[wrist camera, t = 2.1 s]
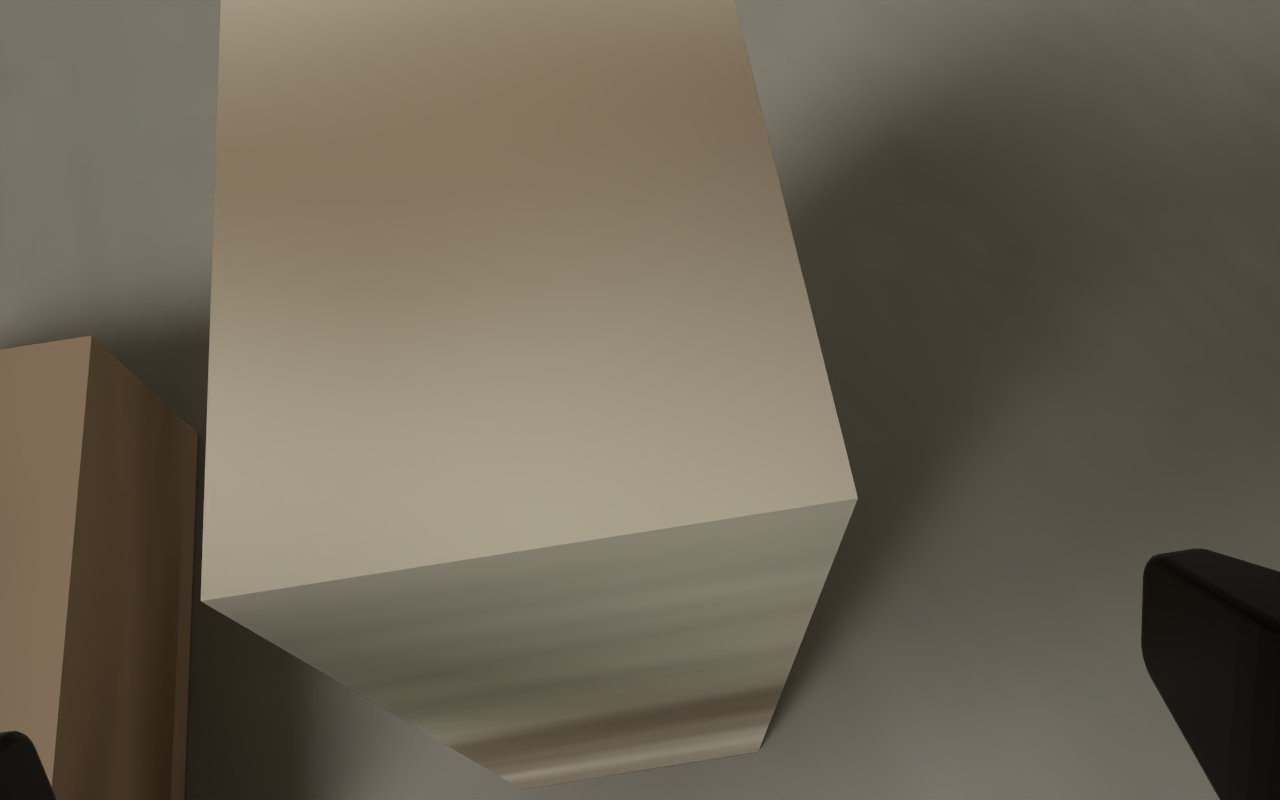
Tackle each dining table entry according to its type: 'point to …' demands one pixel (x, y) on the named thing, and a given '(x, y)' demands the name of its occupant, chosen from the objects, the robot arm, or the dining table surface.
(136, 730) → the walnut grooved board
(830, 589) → the dining table surface
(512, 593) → the cream wooden block
